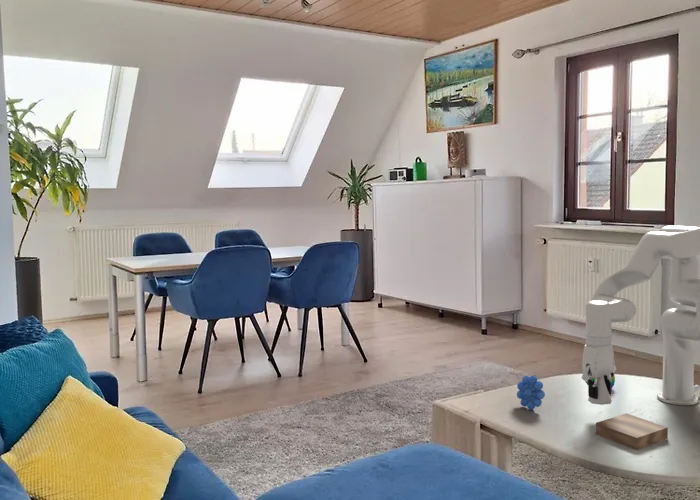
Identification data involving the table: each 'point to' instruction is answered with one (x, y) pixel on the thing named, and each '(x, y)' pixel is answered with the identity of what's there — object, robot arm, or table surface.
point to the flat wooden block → (631, 431)
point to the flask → (601, 393)
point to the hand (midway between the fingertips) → (599, 395)
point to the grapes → (530, 392)
